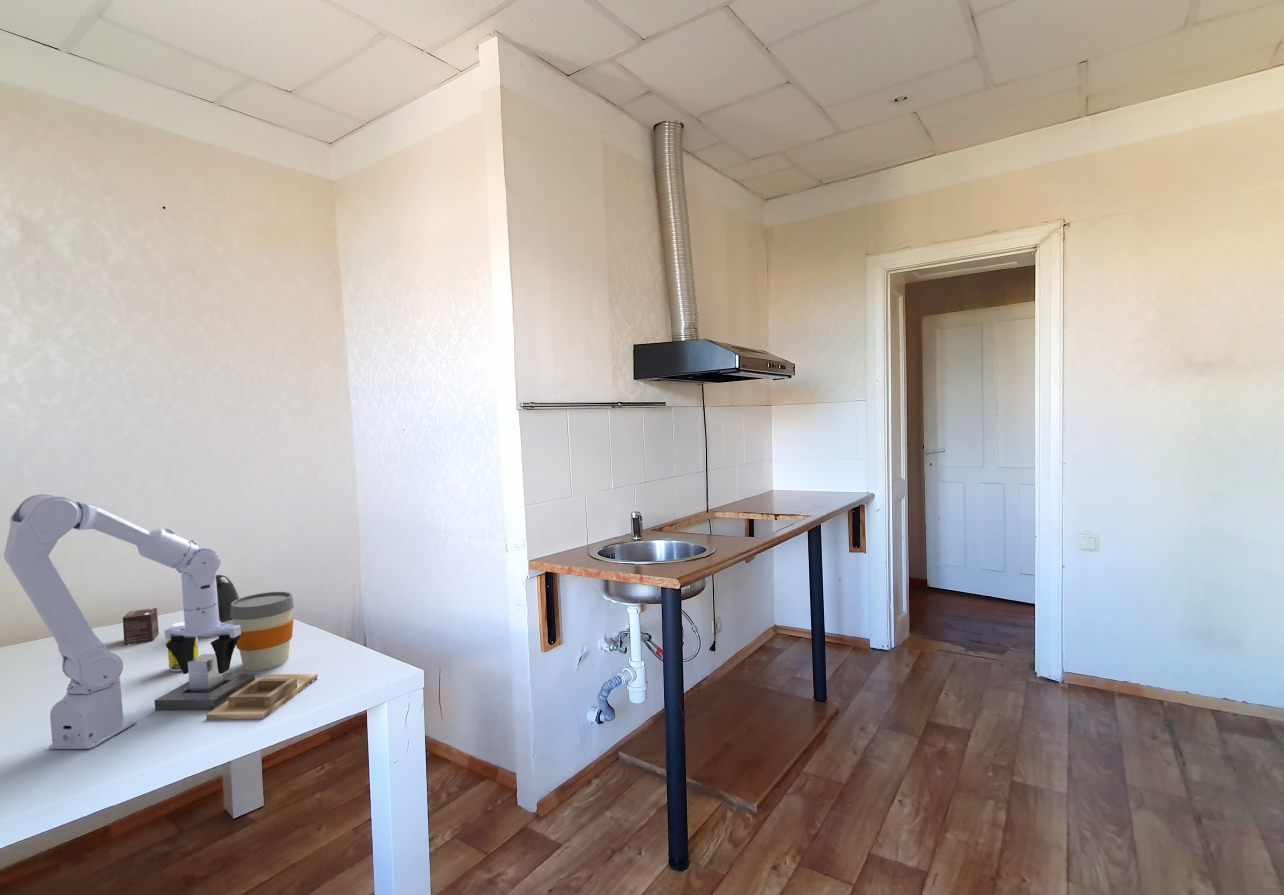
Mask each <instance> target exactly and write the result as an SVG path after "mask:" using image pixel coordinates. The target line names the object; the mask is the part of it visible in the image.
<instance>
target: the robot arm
mask: <svg viewBox="0 0 1284 895" xmlns="http://www.w3.org/2000/svg"><path fill="white" fill-rule="evenodd" d="M9 524H10V525H9V530H8V534H7V535H8V536H7V539H6V544H5V549H4V553H3V556H4V560H5V562H6V564H7V565H8V566H9V568H10V571H12V573H13V575H14V576H15V578H16V579H17V581H18V583H19V584H20V585H21V587H22V589H23V590H24V592H25V594H26V596H27V597H28V598H29V600H30V602H31V603H32V604H33V607H34V608H35V610H36V611H37V614H39V616H40V618H41V619H42V621H43V622H44V624H45V626H46V627H47V629H48V630H49V632H50V635H52V637H53V639H54V641H55V642H56V643H57V648H58V652H59V654H60V655H61V658H62V664H61V668H62V672H63V674H64V675H65V677H68V678H69V679H70V681H69V682H68V686H67V687H66V693H65V696H64V697H63V698H62V699H60V700H59V701H57V702H56V703H55V704H54V705H53V706H52V708H51V710H50V713H49V718H50V732H51V742H52V743H51V744H50V745H48V750H89V749H92V748H95V747H96V746H98V745H100V744H102V743H103V742H106V741H107V740H109V739H111V738H112V737H114V736H115V735H117V734H119V733H121V732H124V731H125V730H126V729H127V728H129V727H131V726H134V725H135V724H136V723H137V719H124V712H123V711H124V709H123V700H122V698H123V697H122V688H121V687H122V686H121V674H122V672H123V670H124V669H123V668H124V662H123V660H122V658H121V657H120V656H119V655H118V654H116V653H114V652H111V651H110V650H109V649H108V648H107V647H106V645H105V643H104V642H103V641H102V640H101V639H100V638H99V636H98V635H97V634H96V633H95V632H94V630H93V629H92V627H91V625H90V624H89V622H88V621H87V619H86V617H85V615H84V614H83V612H82V610H81V609H80V606H79V605H78V603H77V601H76V600H75V598H74V597H73V595H72V593H71V591H70V590H69V589H68V586H67V585H66V584H65V582H64V580H63V579H62V577H61V575H60V573H59V571H58V570H57V568H56V566H55V565H54V563H53V561H52V560H51V558H50V557H49V556H50V553H51V552H52V551H53V549H54V548H55V547H56V544H57V543H58V541H59V540H60V539H61V538H62V537H64V536H65V535H66V534H68V533H69V532H70V531H72V529H74V530H80V531H82V530H95V531H98V532H100V533H103V534H105V535H108V536H112V537H113V538H116V539H119V540H120V541H121V540H122V541H124V542H126V543H129V544H132V545H135V547H136V548H137V551H138V554H139V556H141V557H144V558H146V559H149V560H151V561H154V562H156V563H159V564H162V565H163V566H166V567H168V568H171V569H175V571H177V572H178V573H180V577H181V591H182V606H183V607H182V608H183V618H184V619H183V620H184V622H185V626H173V627H171V626H170V627H168V628H166V629H164V636H165V637H164V638H165V640H167V639H171V640H170V642H166V643H165V647H166V648H167V650H168V649H169V650H170V651H171V652H172V654H173V655H174V656H175V658H176V660H177V662H178V664H179V666H180V668H181V671H180V672H181V673H182V675H187V674H189V673H188V661H190V660H192V659H194V644H195V639H196V637H198V638H216V639H214V640H212V641H210V645H211V646H212V649H213V651H214V654H216V658H217V667H218V672H219V674H220V673H223V674H224V673H226V672H227V671H229V670H230V668H231V667H230V666H231V661H232V657H233V654H234V651H235V648H236V644H237V642H238V640H239V638H240V634H241V628H240V625H230V624H223V623H221V621H219V611H218V597H217V584H216V575H217V574H216V573H217V572H218V570H219V568H220V566H221V562H222V561H221V559H220V558H219V556H218V555H217V552H215V551H214V550H212V549H210V548H206V547H203V546H202V547H201V546H199V545H198V544H199V542H198V541H197V540H193V539H191V540H188V539H186V538H183V537H181V536H179V535H177V534H175V533H176V531H175V530H174V529H172V528H167V527H165V529H163V528H160V527H158V528H155V529H151V530H147V529H145V528H143V527H140V526H139V525H136V524H134V523H131V522H130V521H127V520H126V519H124V518H121V517H120V516H117V515H115V514H113V513H111V512H108V511H106V510H104V509H102V508H100V507H97V506H94V505H91V504H87V503H85V502H81V501H74V500H73V499H71V498H69V497H66V496H54V495H51V494H45V493H44V494H43V493H41V494H35V495H31V496H29V497H27V498H26V499H24V500H22V502H21V503H20V504H19V505H18V506H17V507H16V509H15V510H14V512H13V513H12V514H11V516H10V517H9Z"/></svg>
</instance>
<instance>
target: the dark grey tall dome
mask: <svg viewBox="0 0 1284 895" xmlns="http://www.w3.org/2000/svg"><path fill="white" fill-rule="evenodd" d="M216 584H217V597H218V611H219V621H221V623H223V624H230V625H234V624H233V619H232V618H231V617H230V612H231V603H232V602H233V601H235V600H237V599H240V597H239V596H240V595H239V594H238V592H237V588H236V587H235V585H234V583H233V582H232V581H231V580H230V578H229V577H227V576H226V575H223V574H216Z"/></svg>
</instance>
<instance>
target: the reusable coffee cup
mask: <svg viewBox="0 0 1284 895" xmlns="http://www.w3.org/2000/svg"><path fill="white" fill-rule="evenodd" d="M294 607H295V604H294V599H293V594H292V593H291V592H289V591H269V592H261V593H255V594H250V595H247V596H243V597H241V598H240V597H239V599H237V600H235V601H233V602H232V603H231V612H230V617H231V618H232V619H233V624H234V625H240V628H241V634H240V638H239V640H238V642H237V644H236V646H235V648H236V649H238V650H239V655H240V658H241V664H242V667H243V670H245V671H246V672H247V671H248V672H260V671H266V670H270V669H275V668H277V667H280V666H282V665H284V664H286V663H287V662H288V661H289V658H290V656H289V655H290V647H291V646H290V645H291V644H290V642H291V640H292V638H293V632H294V630H293V628H294V617H293V609H294ZM287 660H288V661H287ZM286 661H287V662H286ZM285 662H286V663H285ZM283 663H284V664H283ZM279 665H280V666H279ZM276 666H277V667H276Z"/></svg>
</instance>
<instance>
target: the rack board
mask: <svg viewBox="0 0 1284 895" xmlns="http://www.w3.org/2000/svg"><path fill="white" fill-rule="evenodd" d="M318 676H319V675H318V673H297V674H295V673H289V674H287V673H286V674H284V673H283V674H282V673H281V674H279V673H278V674H274V673H273V674H267V675H266V676H264V677H261V678H255V680H254V681H252V682H251V683H249V684H248V685H246V686H244V687H243V688H241V689H240V690H238V691H237V692H235V693H233V694H232V695H230V696H229V697H228V701H226V702H225V703H223V704H222V705H220V706H218V707H217V708H215V709H214V710H211V711H209V712H208V713H206V714H205V716H206V720H210V721H211V720H212V721H213V720H218V721H219V720H264V719H265V718H267V717H269V715H271V714H272V713H273V712H275V711H276V710H277V709H279V708H280V707H281V706H283V705H284V704H286V703H287V702H288V701H290V700H292V698H294V697H295V696H296V695H298V694H299V693H300V692H302V691H303V690H304V689H306V688H307V687H308V686H309V685H308V684H310V683H311V682H312V681H313V680H315V679H316V678H317V677H318ZM318 678H319V677H318ZM316 680H317V679H316ZM316 680H315V681H316ZM312 683H313V682H312ZM312 683H311V684H312ZM311 684H310V685H311ZM307 685H308V686H307ZM306 686H307V687H306ZM305 687H306V688H305ZM303 688H304V689H303ZM302 689H303V690H302ZM301 690H302V691H301ZM299 691H300V692H299ZM298 692H299V693H298ZM297 693H298V694H297Z"/></svg>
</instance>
